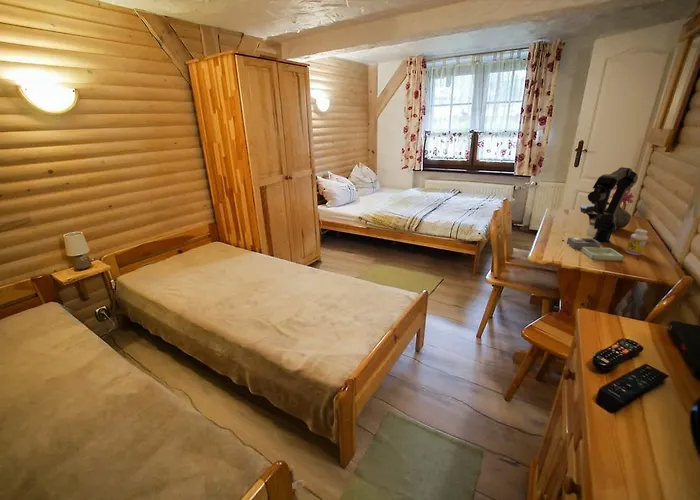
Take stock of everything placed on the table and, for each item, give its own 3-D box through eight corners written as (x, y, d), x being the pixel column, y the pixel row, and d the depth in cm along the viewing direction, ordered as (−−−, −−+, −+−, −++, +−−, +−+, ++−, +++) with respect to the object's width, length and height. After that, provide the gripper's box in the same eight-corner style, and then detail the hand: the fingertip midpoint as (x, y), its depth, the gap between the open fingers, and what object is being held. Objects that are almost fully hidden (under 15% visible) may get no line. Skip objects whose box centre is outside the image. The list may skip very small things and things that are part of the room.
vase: (630, 233, 196) (648, 185, 184) (597, 231, 201) (612, 183, 190) (619, 225, 211) (634, 180, 199) (588, 223, 216) (601, 178, 204)
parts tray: (609, 252, 170) (610, 248, 169) (622, 260, 160) (623, 256, 159) (580, 251, 172) (582, 246, 171) (591, 259, 162) (593, 255, 161)
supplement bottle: (622, 250, 172) (630, 228, 167) (634, 250, 172) (643, 228, 167) (631, 255, 166) (640, 232, 161) (644, 255, 166) (653, 232, 161)
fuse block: (591, 244, 181) (593, 237, 180) (599, 249, 174) (601, 242, 172) (566, 243, 183) (568, 236, 181) (573, 248, 176) (575, 241, 174)
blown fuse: (592, 234, 177) (597, 218, 174) (596, 236, 173) (601, 221, 170) (584, 234, 178) (589, 218, 174) (588, 236, 174) (593, 220, 170)
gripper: (576, 195, 177) (568, 222, 183) (594, 203, 160) (586, 232, 166) (597, 195, 176) (589, 222, 182) (619, 204, 159) (609, 233, 165)
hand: (593, 227), depth 174 cm, fingers closed on blown fuse, 4 cm apart
